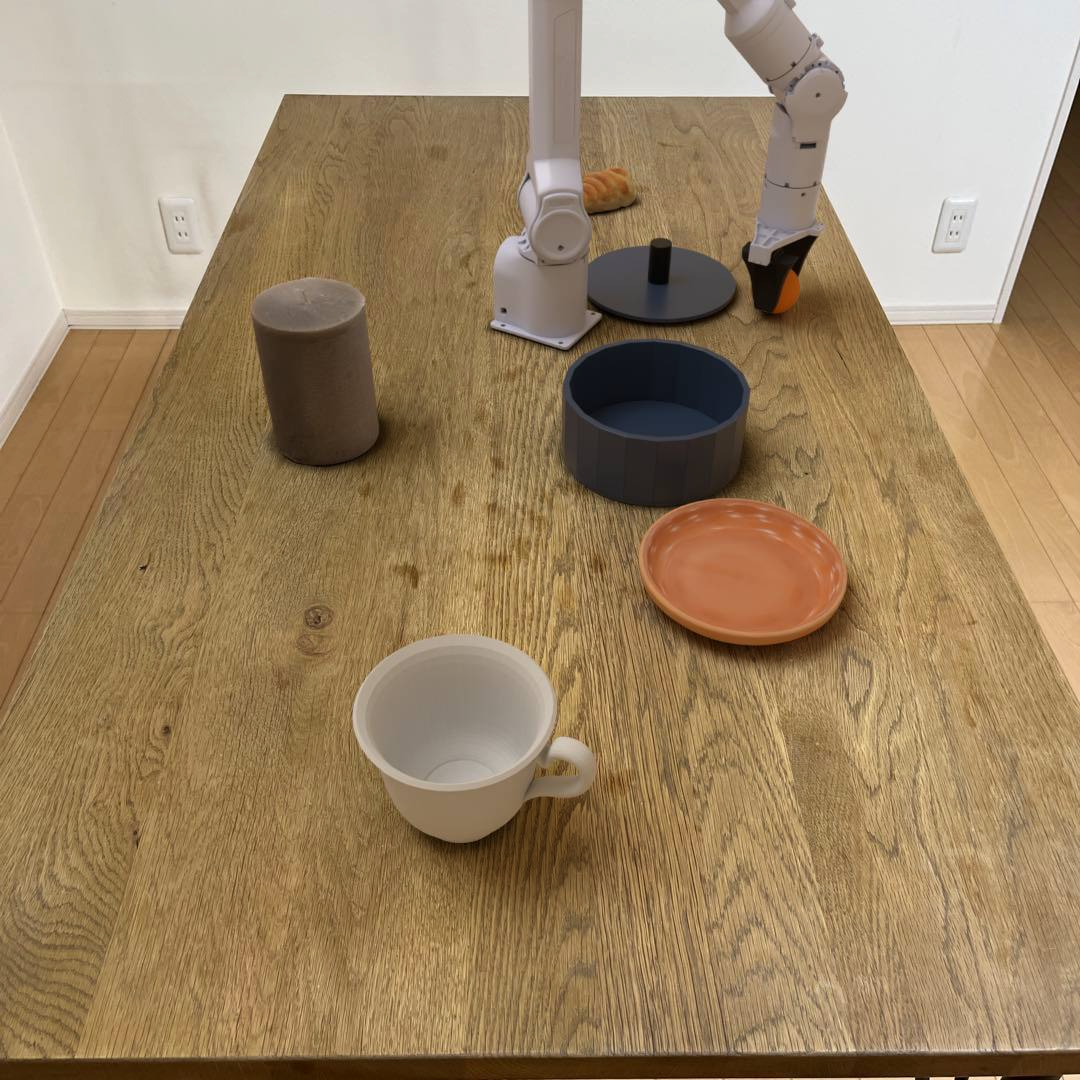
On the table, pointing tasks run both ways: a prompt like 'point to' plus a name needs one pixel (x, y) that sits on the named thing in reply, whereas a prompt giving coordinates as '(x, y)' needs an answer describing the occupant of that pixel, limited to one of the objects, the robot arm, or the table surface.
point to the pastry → (608, 190)
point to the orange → (787, 293)
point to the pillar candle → (316, 369)
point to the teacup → (464, 734)
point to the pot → (653, 421)
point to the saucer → (742, 571)
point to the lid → (659, 283)
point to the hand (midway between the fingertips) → (773, 298)
